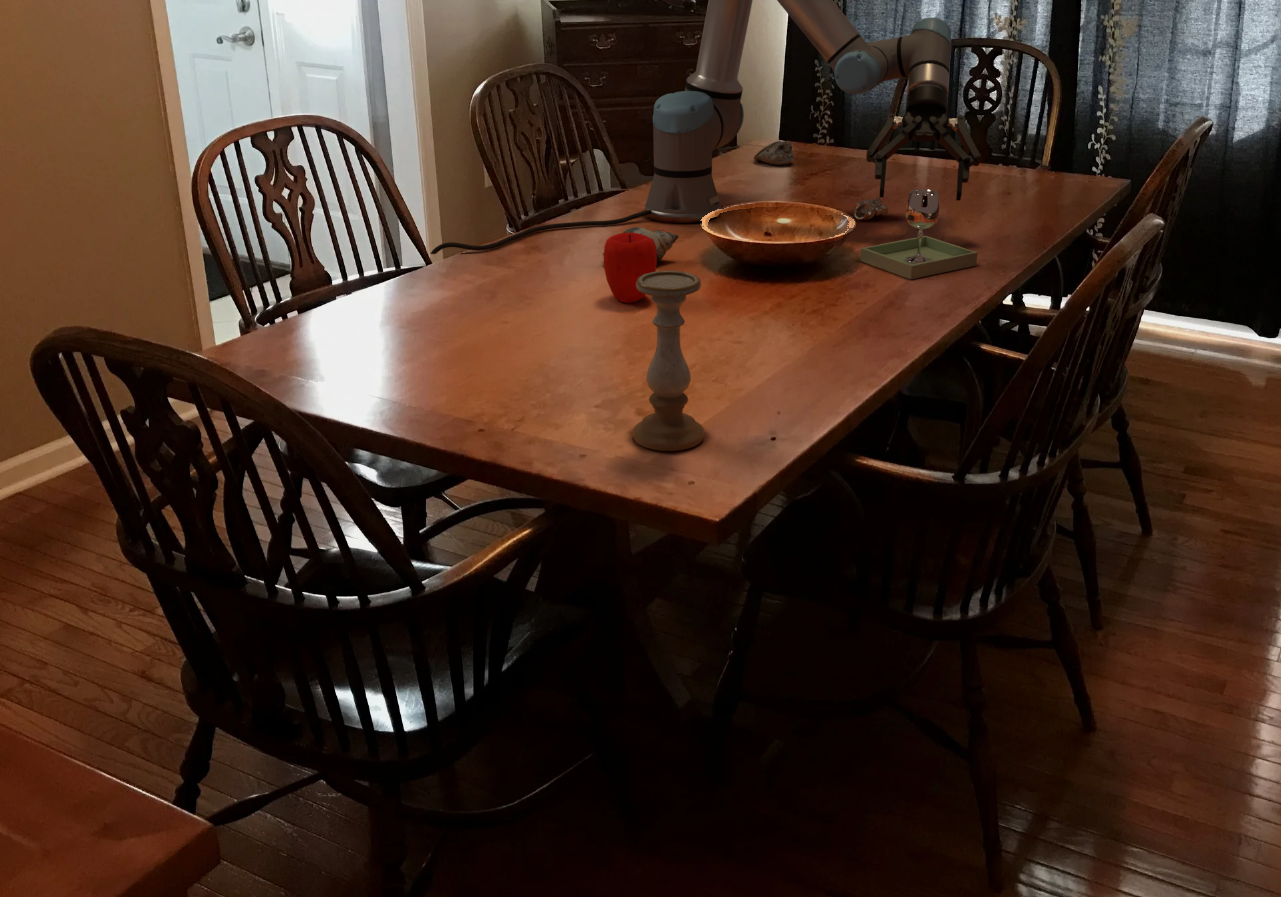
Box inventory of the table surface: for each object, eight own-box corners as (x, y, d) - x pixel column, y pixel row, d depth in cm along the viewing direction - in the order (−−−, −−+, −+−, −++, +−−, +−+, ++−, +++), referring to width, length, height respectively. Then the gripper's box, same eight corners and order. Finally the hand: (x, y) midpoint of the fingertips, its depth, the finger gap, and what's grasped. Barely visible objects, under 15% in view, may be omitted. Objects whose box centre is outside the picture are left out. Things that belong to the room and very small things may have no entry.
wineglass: (933, 255, 226) (939, 188, 221) (936, 264, 221) (942, 196, 216) (900, 255, 226) (905, 188, 221) (903, 264, 221) (908, 196, 216)
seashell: (614, 264, 230) (677, 269, 226) (599, 258, 223) (663, 263, 219) (619, 229, 230) (681, 234, 226) (604, 222, 223) (667, 226, 219)
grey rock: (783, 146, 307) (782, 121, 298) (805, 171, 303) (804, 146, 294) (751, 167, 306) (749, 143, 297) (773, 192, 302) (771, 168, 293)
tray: (910, 279, 215) (911, 265, 214) (860, 261, 225) (860, 248, 224) (976, 265, 222) (977, 252, 221) (924, 248, 232) (925, 235, 231)
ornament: (879, 224, 248) (880, 205, 247) (847, 219, 251) (848, 201, 250) (895, 215, 254) (896, 197, 253) (863, 211, 258) (864, 193, 256)
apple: (667, 302, 205) (667, 236, 201) (620, 311, 202) (619, 244, 197) (640, 288, 212) (639, 224, 208) (594, 296, 209) (592, 232, 204)
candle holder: (690, 456, 152) (691, 293, 143) (622, 446, 155) (619, 286, 146) (713, 428, 159) (715, 272, 151) (648, 419, 162) (647, 265, 154)
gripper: (994, 109, 236) (989, 208, 229) (858, 105, 241) (849, 203, 234) (999, 84, 229) (993, 186, 222) (859, 81, 234) (850, 180, 227)
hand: (920, 195), depth 228 cm, fingers open, 13 cm apart
